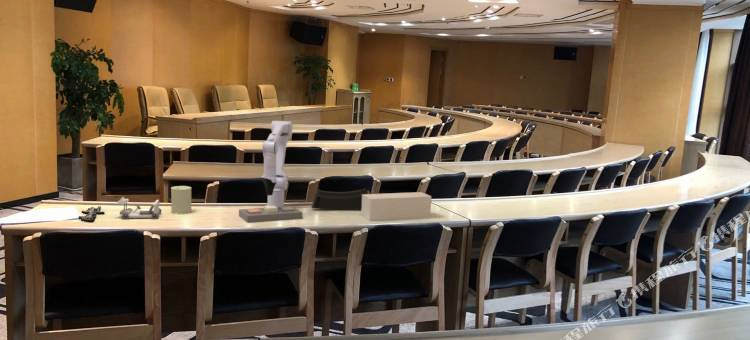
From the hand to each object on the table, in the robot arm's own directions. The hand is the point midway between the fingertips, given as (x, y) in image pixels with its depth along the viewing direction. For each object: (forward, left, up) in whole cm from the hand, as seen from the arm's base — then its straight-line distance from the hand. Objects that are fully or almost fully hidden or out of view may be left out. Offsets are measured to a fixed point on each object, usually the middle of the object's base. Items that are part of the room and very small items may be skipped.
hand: (269, 195), depth 285 cm
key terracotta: (+5, -9, -9) cm, 13 cm away
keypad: (+5, -1, -9) cm, 11 cm away
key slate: (+5, +7, -9) cm, 12 cm away
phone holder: (-14, -56, -10) cm, 59 cm away
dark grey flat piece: (-22, -75, -10) cm, 79 cm away
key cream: (+5, -1, -8) cm, 9 cm away
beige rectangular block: (+22, +56, -10) cm, 61 cm away
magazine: (+1, +38, -10) cm, 39 cm away
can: (-18, -37, -10) cm, 42 cm away
